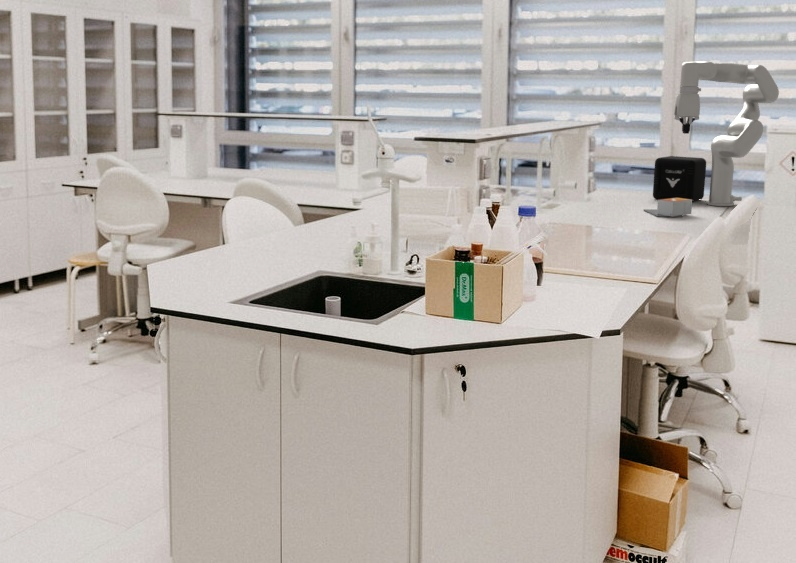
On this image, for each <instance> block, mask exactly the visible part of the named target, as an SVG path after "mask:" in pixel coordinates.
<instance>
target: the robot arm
mask: <svg viewBox="0 0 796 563" xmlns="http://www.w3.org/2000/svg"><path fill="white" fill-rule="evenodd" d="M680 70H681V71H680V86H679V93H678V94H677V95H676V99H675V105H674V110H673V111H674V112H673V115H674V118H673V119H674V120H676V121H679V122H680V123H681V125H682V126H681V132H682V134H684V135H685V134H690V131H691V125H692V124H693V122H694V121H698V120H700V114H701V111H700V110H701V101H700V100H701V99H700V94H699V92H701V91H702V88H701V87H699V82H700V81H709V82H710V81H711V82H717V83H729V84H737V85H738V84H739V85H746V86H745V87H744V89H743V92H742V101H743V102H742V104H743V106H742V109H741V110H740V112H739V113H738V114H737V115H736V117H735V118H734V119H733V120H732V122H731V123H729V125H728V127H727V131H726V132H727V134H724V135H723V134H720V135H717V136H716V137H714V138H713V139H712V141H711V144H710V152H711V172H710V182H709V185H710V186H709V196H708V197H709V198H708V200H706V201H705V202H704V204H705V205H707V204H708V206H713V207H716V206H717V207H732V206H735V201H737V202H742V200H743V197H742V196H735V195H733V194H732V192H733V183H734V182H733V180H734V169H735V168H734V167H735V164H734V161H733V159H732V158H735V159H739V158H740V159H741V158H744V157H746V156H747V154H748V153H749V152H751V150H752V149H753V148H754V146H756V144H757V143H758V142H759V140H760V139H761V138H762V136H763V133H764V125H763V123H762V122H761V121H760V120H759V119H760V117H761V116H760V115H761V111H760V106H759V104H761V103H762V104H772V103H774V102H776V101H777V100H778V98H779V95H780V91H779V87H778V85H777V82H775V80H774V77H772V75H771V73H770V72H769V70H768V69H767V68H766V67H765V66H764V65H761V64H740V63H734V62H733V63H732V62H718V63H717V62H712V61H685V62H683V63H682V64H681V69H680Z"/></svg>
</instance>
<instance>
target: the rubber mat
mask: <svg viewBox="0 0 796 563" xmlns="http://www.w3.org/2000/svg"><path fill="white" fill-rule="evenodd" d="M643 212H645V213H648V214H649V215H651V216H654V217H656V218H683V216H684V215H679V216H665V215H659V214H657V208H655V209H652V208H651V209H650V208H649V209H643Z"/></svg>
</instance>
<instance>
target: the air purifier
mask: <svg viewBox="0 0 796 563" xmlns="http://www.w3.org/2000/svg"><path fill="white" fill-rule="evenodd" d="M706 169H707V160H706V159H705V158H703V157H691V156H690V157H689V156H677V155H676V156H675V155H674V156H673V155H668V156H663V157H658V158H656V159H655V161H654V170H653V171H654V172H653V188H652V197H653V198H654V200H657V201H658V200H661V199H670V198H683V199H692V201H693V202H697V201H700V200H699V199H701V200H702V199H703V198H704V196H705V187H706V186H705V184H706V172H707V170H706ZM696 200H697V201H696Z"/></svg>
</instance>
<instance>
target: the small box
mask: <svg viewBox="0 0 796 563" xmlns="http://www.w3.org/2000/svg"><path fill="white" fill-rule="evenodd" d="M656 206H657V207H656V209H657V214H659V215H665V216H679V215H683V216H685V215H692V212H693V210H692V208H693V202H692V199H683V198H670V199H661V200H657V205H656Z"/></svg>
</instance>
